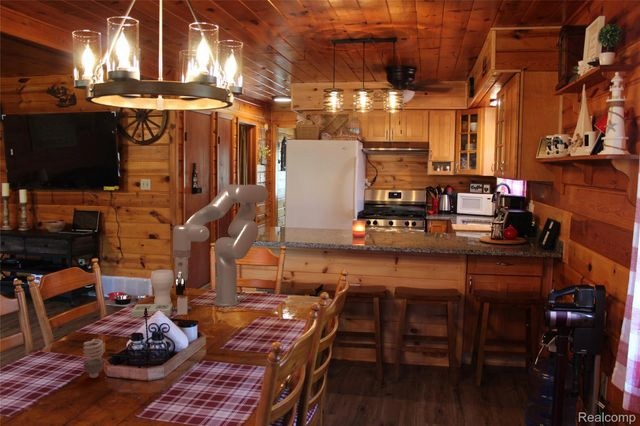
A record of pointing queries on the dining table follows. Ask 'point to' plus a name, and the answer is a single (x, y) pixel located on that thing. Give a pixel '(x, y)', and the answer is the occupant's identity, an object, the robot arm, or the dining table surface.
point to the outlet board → (151, 309)
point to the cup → (162, 285)
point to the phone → (188, 308)
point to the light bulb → (94, 363)
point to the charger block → (182, 305)
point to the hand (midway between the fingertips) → (180, 292)
